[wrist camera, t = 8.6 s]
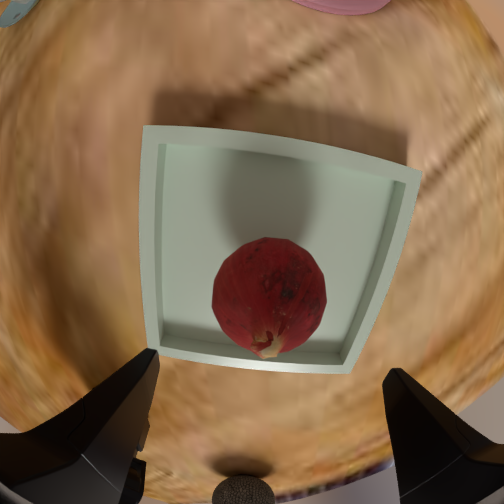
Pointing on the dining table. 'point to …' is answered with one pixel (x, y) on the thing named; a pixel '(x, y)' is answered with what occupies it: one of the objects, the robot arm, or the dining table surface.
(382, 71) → the dining table surface
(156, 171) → the tray
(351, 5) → the toy figure
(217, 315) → the onion
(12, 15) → the pacifier
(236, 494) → the decorative ball
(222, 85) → the dining table surface
